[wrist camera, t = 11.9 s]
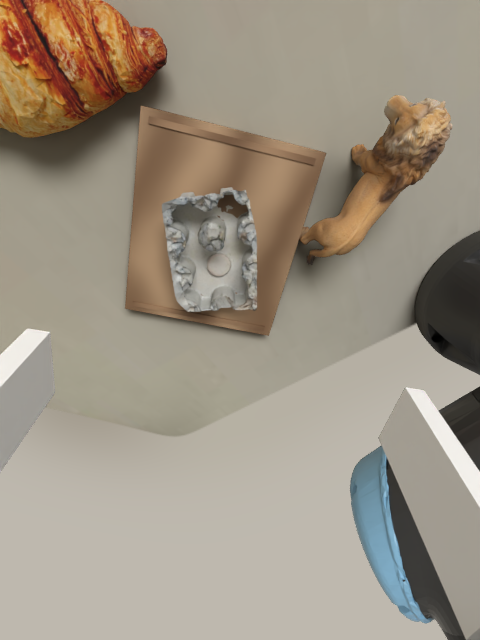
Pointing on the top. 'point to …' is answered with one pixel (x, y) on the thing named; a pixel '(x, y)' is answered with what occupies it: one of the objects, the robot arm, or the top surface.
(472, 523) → the robot arm
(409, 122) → the lion figurine
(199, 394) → the top surface
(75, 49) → the croissant
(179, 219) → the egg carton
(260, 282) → the walnut board
